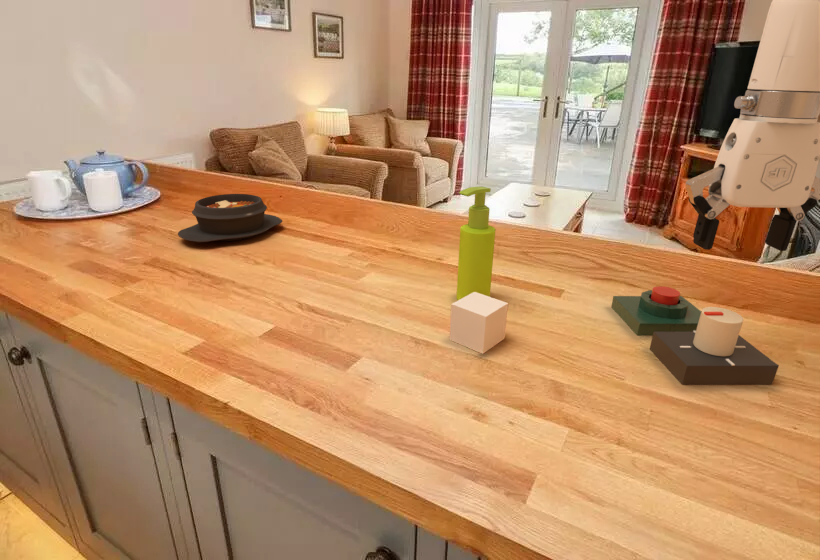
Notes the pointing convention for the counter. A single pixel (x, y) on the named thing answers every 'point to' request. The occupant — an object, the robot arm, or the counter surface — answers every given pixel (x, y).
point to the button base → (655, 314)
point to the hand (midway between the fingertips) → (738, 246)
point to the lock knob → (717, 331)
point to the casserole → (229, 218)
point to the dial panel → (712, 362)
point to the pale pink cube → (478, 321)
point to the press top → (665, 295)
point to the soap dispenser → (476, 247)
